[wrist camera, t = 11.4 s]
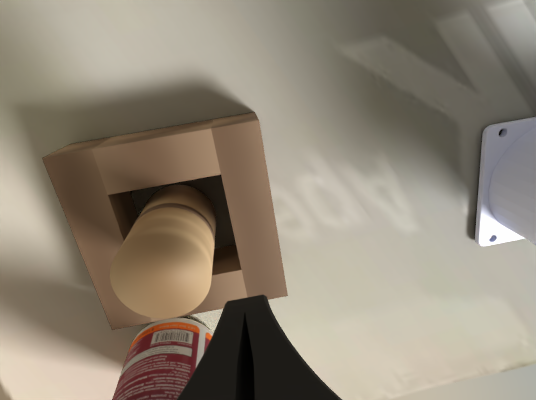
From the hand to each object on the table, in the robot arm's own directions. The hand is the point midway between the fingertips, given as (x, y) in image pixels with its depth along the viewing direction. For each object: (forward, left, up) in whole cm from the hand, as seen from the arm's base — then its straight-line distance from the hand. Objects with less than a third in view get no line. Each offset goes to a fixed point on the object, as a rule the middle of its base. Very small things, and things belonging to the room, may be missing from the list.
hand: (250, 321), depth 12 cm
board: (+3, 0, -10) cm, 10 cm away
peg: (+3, -1, -10) cm, 11 cm away
